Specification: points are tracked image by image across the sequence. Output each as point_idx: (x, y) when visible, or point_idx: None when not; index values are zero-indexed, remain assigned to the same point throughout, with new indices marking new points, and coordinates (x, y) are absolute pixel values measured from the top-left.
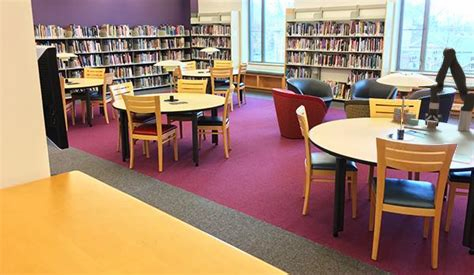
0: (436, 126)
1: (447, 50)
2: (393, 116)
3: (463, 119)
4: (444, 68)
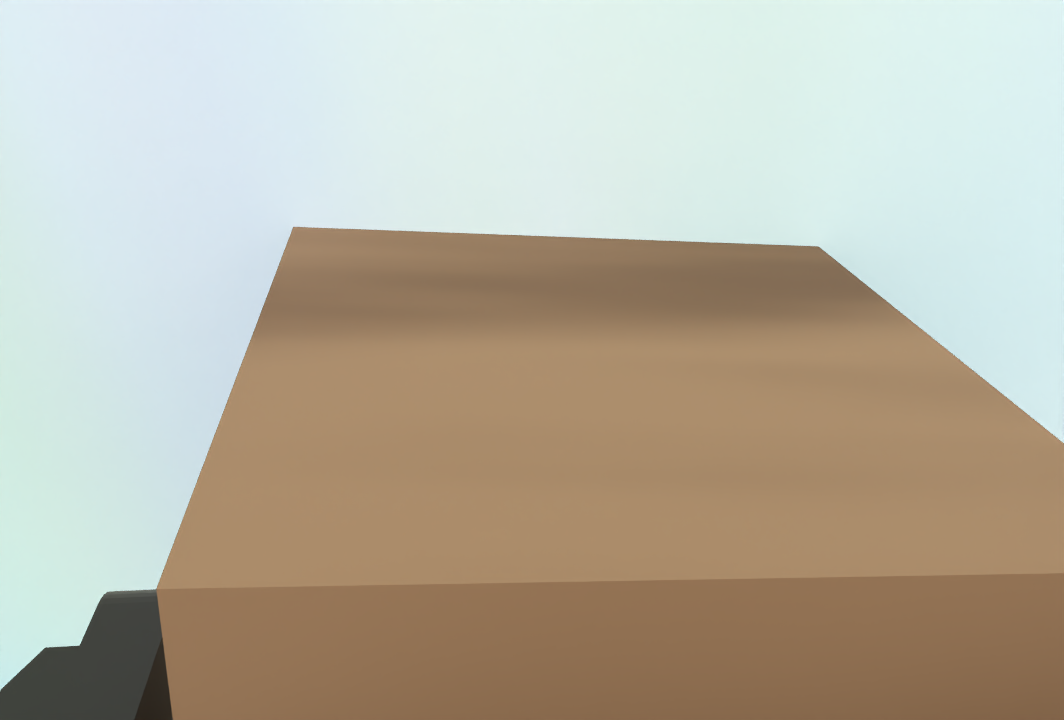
0: None
1: None
2: None
3: None
4: None
